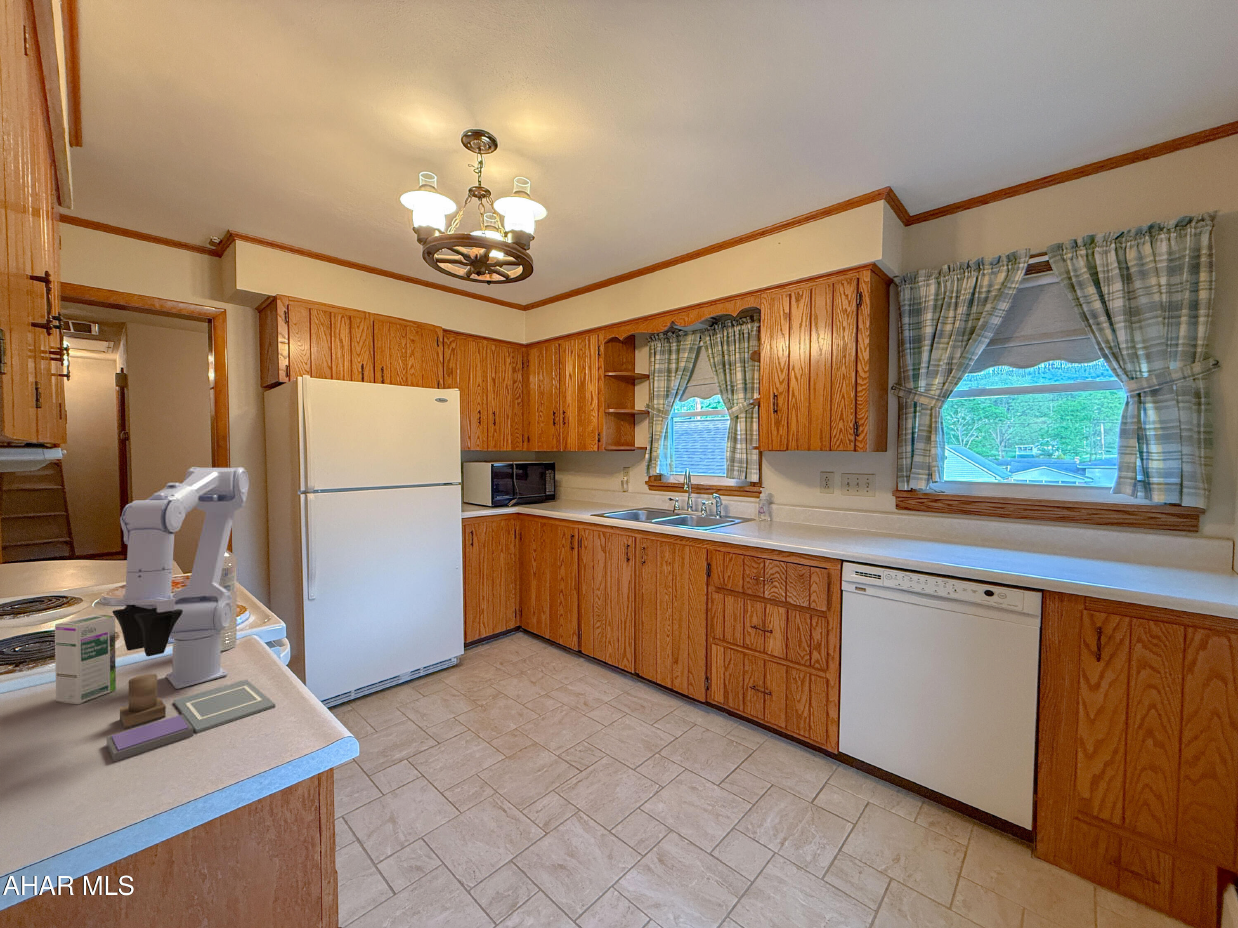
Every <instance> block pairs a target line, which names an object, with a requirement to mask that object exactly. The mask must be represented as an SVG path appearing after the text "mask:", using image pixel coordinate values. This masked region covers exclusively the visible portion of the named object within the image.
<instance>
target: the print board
mask: <svg viewBox="0 0 1238 928" xmlns="http://www.w3.org/2000/svg"><path fill="white" fill-rule="evenodd" d="M173 704H174V706H175V707H176V709H177V710H178V711H179V712H180V713H181V714H183V715H184V716H185V718H186V719H187V720H188V722H189V723H190V724H191V726H192V727H193V731H195V734H198V733H200V732H201V733H202V732H204V731H207V730H209V729H210V730H211V729H212V728H216V727H218V726H222V725H225V724H228V723H232V722H234V721H237V720H240V719H243V718H245V717H249V716H251V715H255V714H257V713H260V712H261V713H262V712H263V711H267V710H270V709H273V708H275V707H276V703H275V702H274V701H273V700H272V699H270V698H269V697H268V696H267V695H266V694H264V693H263V692H262V691H261V690H260V689H259V688H257V687H256V686H255V685H253V684H252V683H251V682H250V681H249V680H248V679H243V680H239V681H236V682H233V683H229V684H226V685H222V686H219V687H218V686H217V687H215V688H212V689H207V690H204V691H200V692H197V693H194V694H191V695H187V696H184V697H179V698H176V699H173Z"/></svg>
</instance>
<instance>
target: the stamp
mask: <svg viewBox="0 0 1238 928" xmlns="http://www.w3.org/2000/svg"><path fill="white" fill-rule="evenodd" d="M127 702H128V704H127V706H123V707H119V721H120V724H121V725H122V727H123V729H124V730H128V729H129V730H130V729H133V728H134V727H135V728H136V727H138V726H139V727H140V726H142V725H146V724H150V723H151V722H156V721H158V720H163V719H164V718H165V719H166V715H167V713H166V708H167V707H166V705H165V703H164V702H163V701H162V699H161V698H160V697H158V674H156V673H145V674H142V675H137V676H135V677H132V678H131V679H129V680H128V701H127Z"/></svg>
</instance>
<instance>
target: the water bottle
mask: <svg viewBox="0 0 1238 928" xmlns="http://www.w3.org/2000/svg"><path fill="white" fill-rule="evenodd" d="M237 565H238V558H237V557H236V556H235V554H233V553H232V552H231V551H229V550H228V549H227V550H226V554H225V559H224V564H223V568H222V573H221V577H220V582H219V586H221V587H222V588H224V589H226V590H227V591H228V592H230V594H231V596H232V616H231V620H230V622H229V624H228V626H227V627H226V628H225V629H224V630H221V653H222V652H226V651H228V650H231V649H233V648H234V647H235V646H236V644H237V635H238V634H237V627H238V625H237V624H238V623H237V618H238V616H237V609H238V607H237V606H238V603H237V601H238V599H237V597H238V596H237V595H238V591H237Z"/></svg>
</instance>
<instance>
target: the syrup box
mask: <svg viewBox="0 0 1238 928" xmlns="http://www.w3.org/2000/svg"><path fill="white" fill-rule="evenodd" d="M54 645H55V646H54V648H55V649H54V651H55V653H54V654H55V655H54V656H55V661H54V662H55V663H54V664H55V701H56V702H59V703H64V704H73V705H81V704H83V703H84V702H87V701H91V700H92V699H96V698H98V697H101V696H104V695H106V694H110V693H113V692H115V691H116V688H117V684H116V682H117V679H116V676H117V675H116V671H117V670H116V668H117V667H116V617H115V616H114V615H109V614H91V615H89V616H84V617H79V618H77V619H76V618H75V619H71V620H68V621H63V622H59V623H55V625H54Z"/></svg>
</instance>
